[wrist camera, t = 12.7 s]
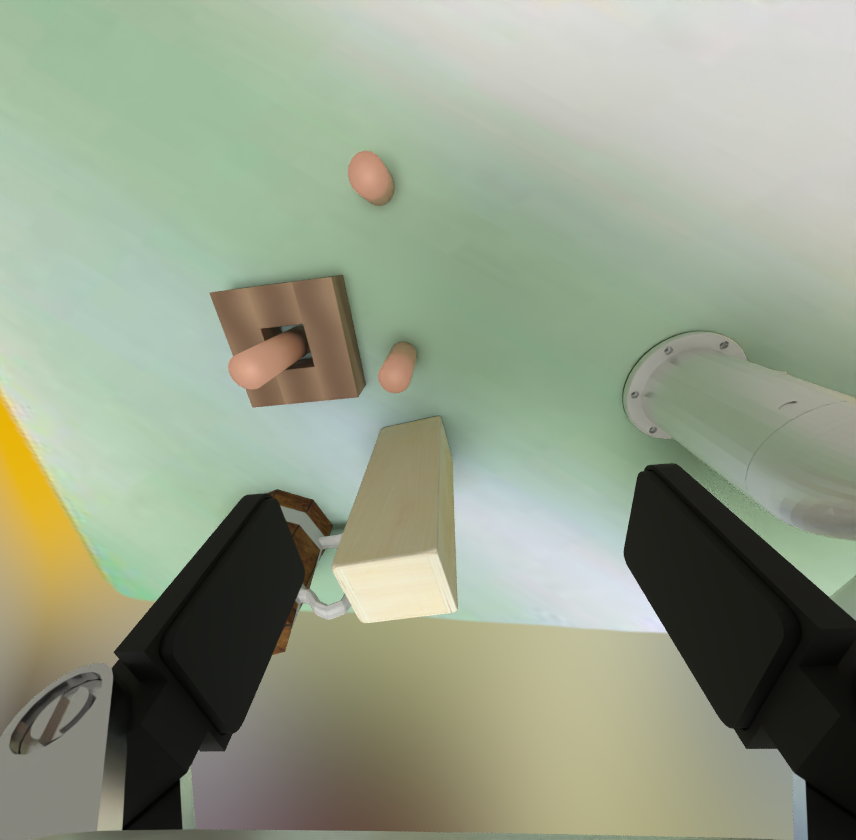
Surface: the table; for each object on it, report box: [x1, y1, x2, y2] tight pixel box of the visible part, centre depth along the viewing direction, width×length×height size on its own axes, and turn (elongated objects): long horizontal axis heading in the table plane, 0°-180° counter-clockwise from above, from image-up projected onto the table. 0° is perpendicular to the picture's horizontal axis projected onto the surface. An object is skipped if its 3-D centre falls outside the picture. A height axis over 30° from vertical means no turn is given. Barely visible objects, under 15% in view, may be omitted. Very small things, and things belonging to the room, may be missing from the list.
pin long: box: [228, 326, 310, 390], centre depth 32 cm, size 3×3×12 cm
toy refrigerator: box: [332, 416, 458, 623], centre depth 34 cm, size 8×7×21 cm
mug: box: [267, 489, 351, 655], centre depth 43 cm, size 20×14×15 cm
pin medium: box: [378, 342, 417, 393], centre depth 34 cm, size 3×3×8 cm
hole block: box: [210, 275, 366, 407], centre depth 36 cm, size 12×12×4 cm
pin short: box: [348, 151, 394, 206], centre depth 29 cm, size 3×3×5 cm
